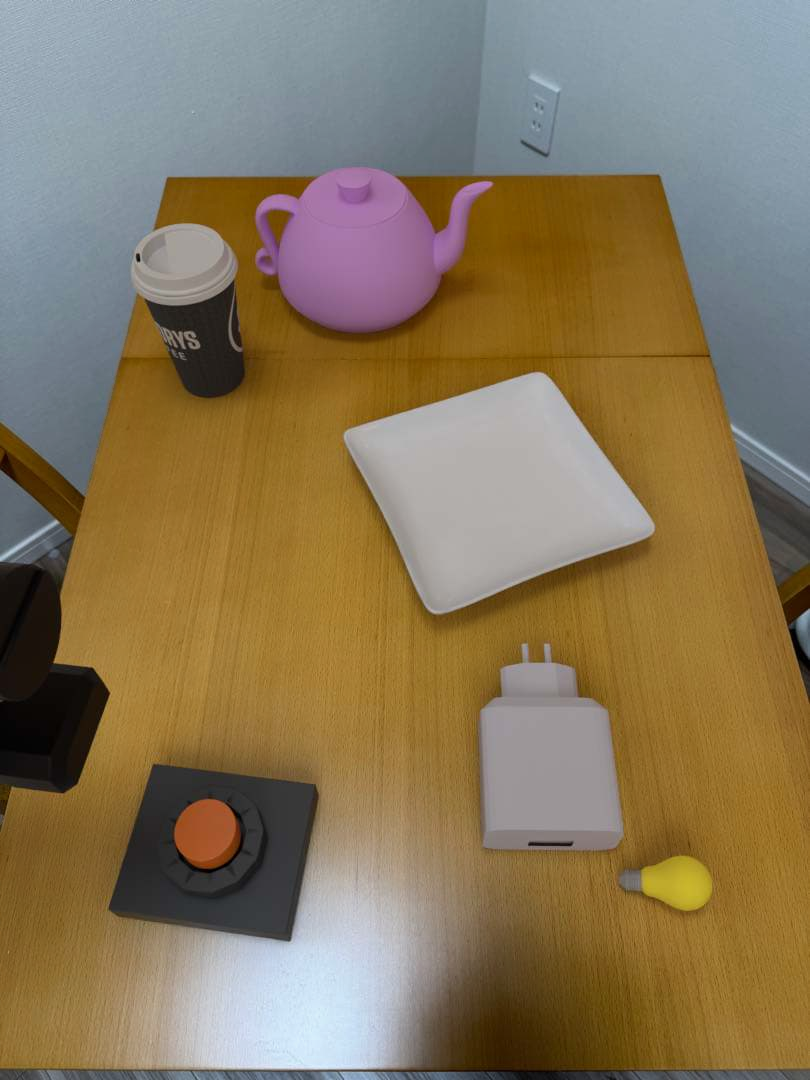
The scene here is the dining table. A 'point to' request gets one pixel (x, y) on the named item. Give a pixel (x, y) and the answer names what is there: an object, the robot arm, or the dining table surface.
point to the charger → (546, 764)
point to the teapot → (360, 249)
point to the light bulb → (672, 882)
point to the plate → (494, 490)
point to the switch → (207, 833)
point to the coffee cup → (193, 304)
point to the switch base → (235, 887)
